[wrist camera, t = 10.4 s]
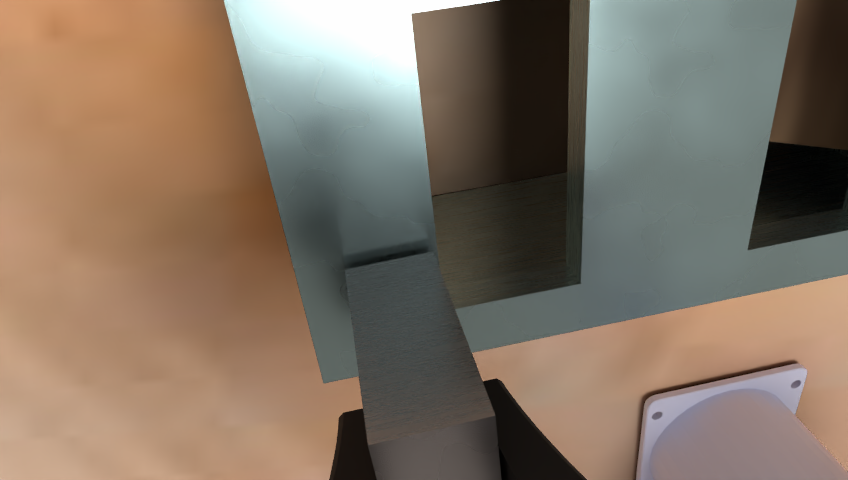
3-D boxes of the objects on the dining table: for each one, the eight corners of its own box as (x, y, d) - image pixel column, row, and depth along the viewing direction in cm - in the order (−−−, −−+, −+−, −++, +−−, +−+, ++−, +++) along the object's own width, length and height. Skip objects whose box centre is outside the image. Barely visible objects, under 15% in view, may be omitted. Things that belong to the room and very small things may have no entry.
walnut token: (699, 112, 22) (870, 128, 19) (689, 132, 20) (872, 152, 18) (724, -43, 19) (924, -46, 17) (714, -33, 18) (931, -34, 15)
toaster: (814, 151, 23) (992, 244, 17) (314, 243, 21) (323, 383, 16) (889, -162, 18) (1179, -181, 12) (240, -77, 16) (210, -52, 10)
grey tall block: (455, 409, 16) (512, 594, 12) (381, 426, 16) (412, 620, 12) (432, 251, 14) (495, 415, 10) (345, 269, 14) (367, 445, 9)
